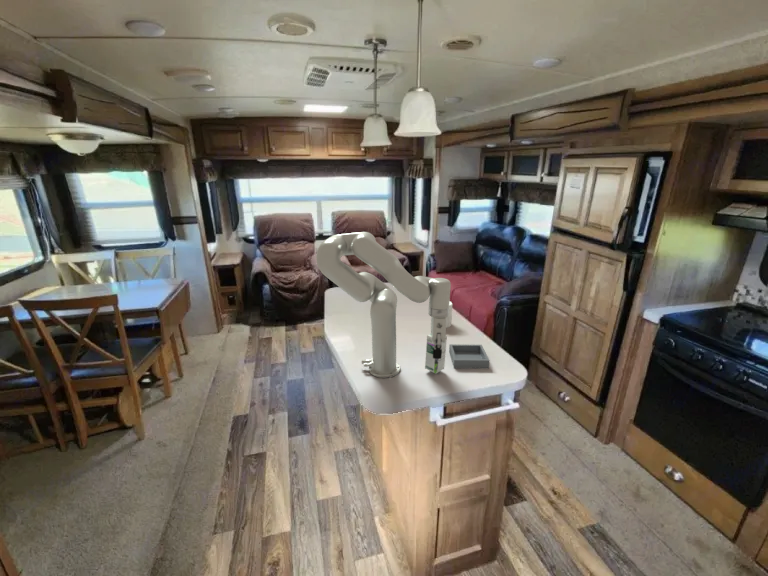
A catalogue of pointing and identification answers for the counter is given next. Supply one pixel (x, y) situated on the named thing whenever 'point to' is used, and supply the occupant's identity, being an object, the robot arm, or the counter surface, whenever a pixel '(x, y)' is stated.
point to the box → (468, 356)
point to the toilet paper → (449, 316)
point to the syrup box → (430, 362)
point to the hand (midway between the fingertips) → (435, 352)
